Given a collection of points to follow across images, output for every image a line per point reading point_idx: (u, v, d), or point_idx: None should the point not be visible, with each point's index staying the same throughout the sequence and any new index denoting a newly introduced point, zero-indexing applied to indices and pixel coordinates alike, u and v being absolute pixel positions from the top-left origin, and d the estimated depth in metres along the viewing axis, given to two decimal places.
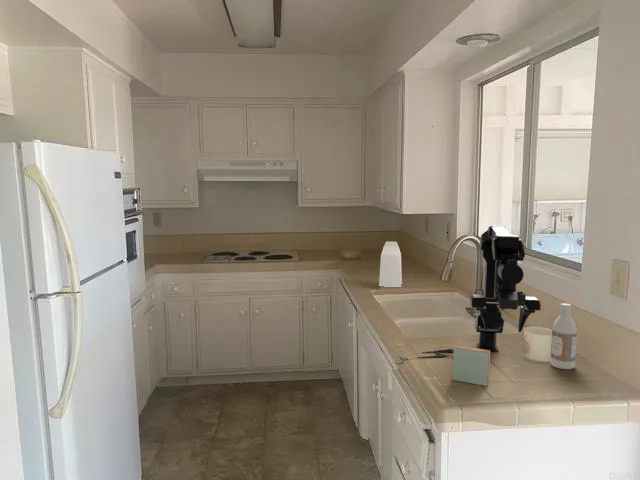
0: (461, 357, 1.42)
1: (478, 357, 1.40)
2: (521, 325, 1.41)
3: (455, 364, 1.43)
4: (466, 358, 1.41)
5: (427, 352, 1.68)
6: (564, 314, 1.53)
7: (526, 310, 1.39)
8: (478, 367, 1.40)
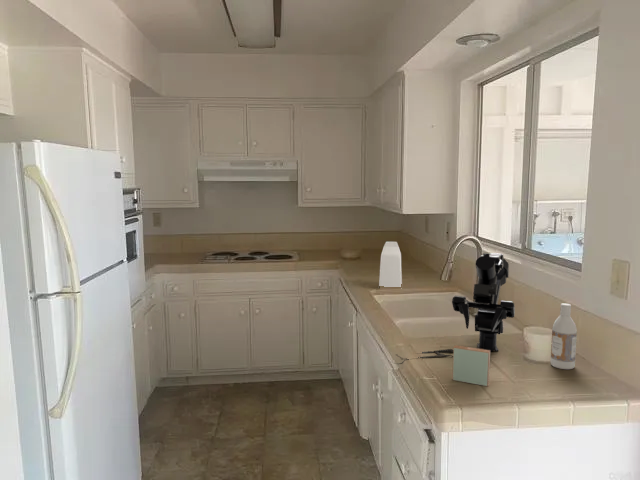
0: (461, 357, 1.42)
1: (478, 357, 1.40)
2: (493, 323, 1.51)
3: (455, 364, 1.43)
4: (466, 358, 1.41)
5: (427, 352, 1.68)
6: (564, 314, 1.53)
7: None
8: (478, 367, 1.40)
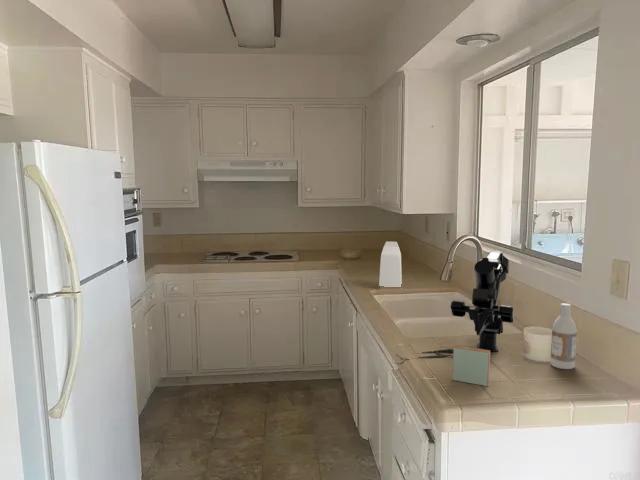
0: (461, 357, 1.42)
1: (478, 357, 1.40)
2: (480, 327, 1.51)
3: (455, 364, 1.43)
4: (466, 358, 1.41)
5: (427, 352, 1.68)
6: (564, 314, 1.53)
7: None
8: (478, 367, 1.40)
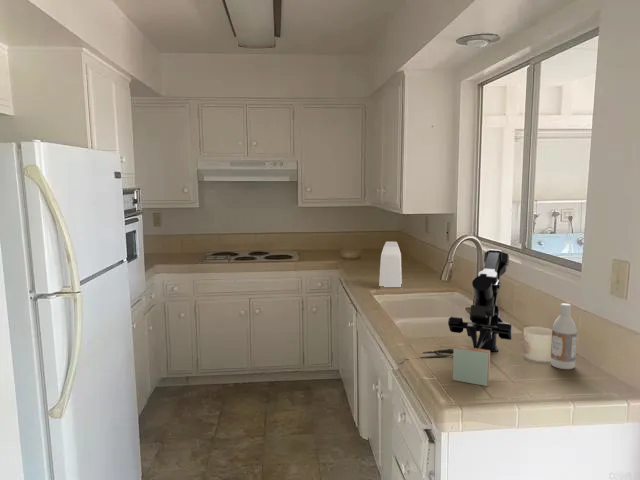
0: (461, 357, 1.42)
1: (478, 357, 1.40)
2: (477, 344, 1.49)
3: (455, 364, 1.43)
4: (466, 358, 1.41)
5: (427, 352, 1.68)
6: (564, 314, 1.53)
7: None
8: (478, 367, 1.40)
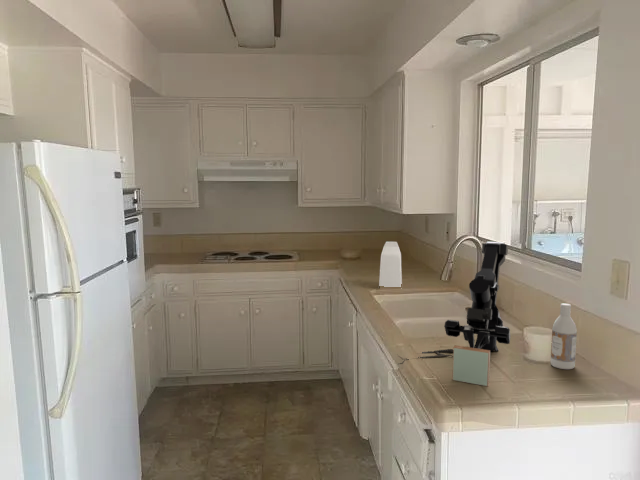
0: (461, 357, 1.42)
1: (478, 357, 1.40)
2: None
3: (455, 364, 1.43)
4: (466, 358, 1.41)
5: (427, 352, 1.68)
6: (564, 314, 1.53)
7: None
8: (478, 367, 1.40)
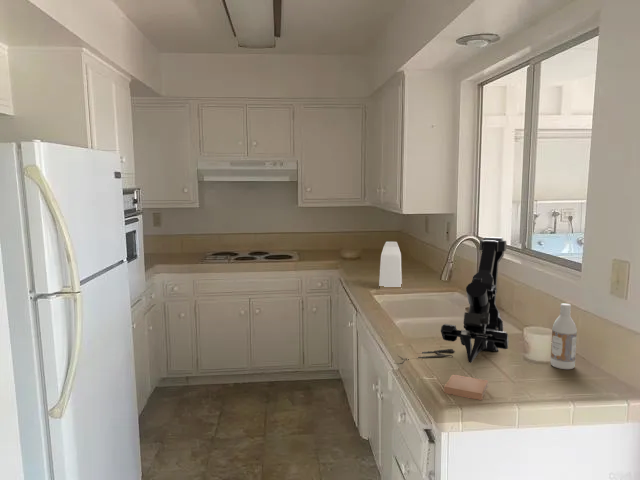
0: None
1: None
2: (472, 354, 1.40)
3: None
4: None
5: (427, 352, 1.68)
6: (564, 314, 1.53)
7: None
8: None
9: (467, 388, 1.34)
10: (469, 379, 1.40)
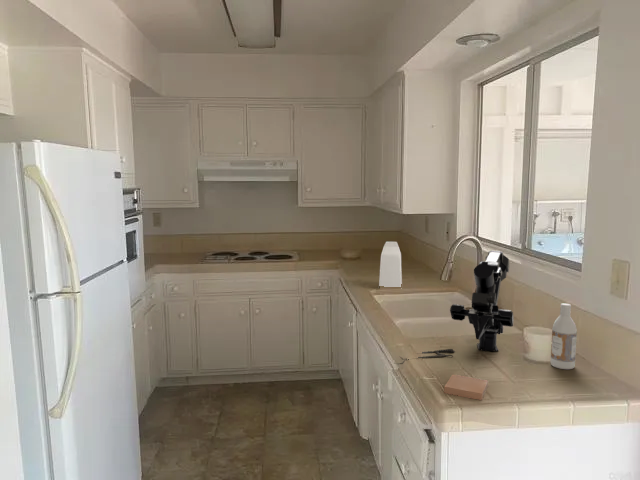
0: None
1: None
2: (479, 331, 1.51)
3: None
4: None
5: (427, 352, 1.68)
6: (564, 314, 1.53)
7: None
8: None
9: (467, 388, 1.34)
10: (469, 379, 1.40)
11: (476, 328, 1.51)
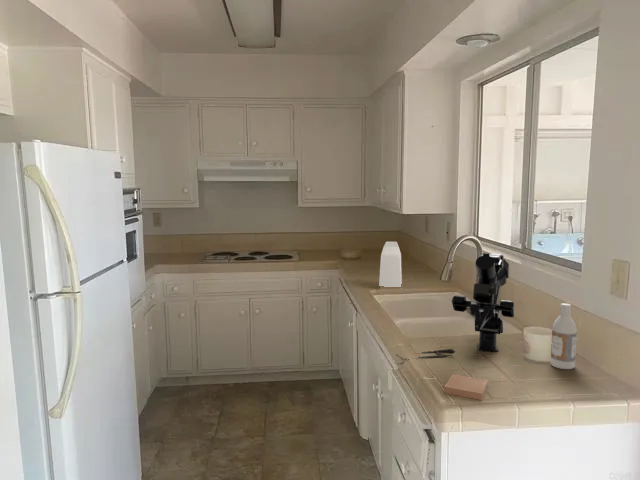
0: None
1: None
2: (481, 321, 1.53)
3: None
4: None
5: (427, 352, 1.68)
6: (564, 314, 1.53)
7: None
8: None
9: (467, 388, 1.34)
10: (469, 379, 1.40)
11: (478, 318, 1.53)
